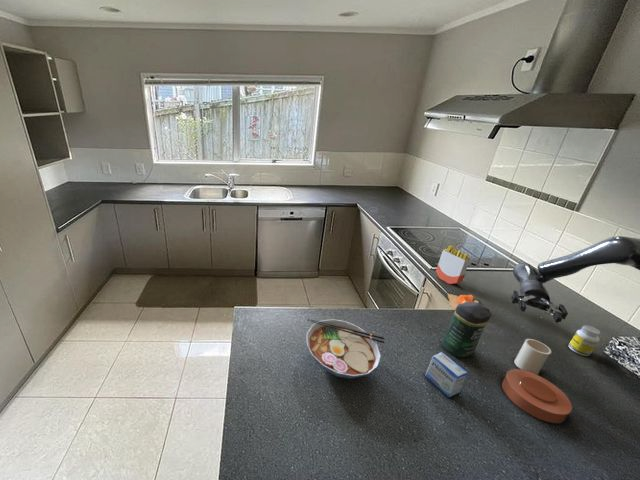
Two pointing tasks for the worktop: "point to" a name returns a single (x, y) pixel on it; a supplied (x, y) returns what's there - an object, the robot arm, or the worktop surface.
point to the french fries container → (452, 265)
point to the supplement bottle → (585, 340)
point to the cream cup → (532, 356)
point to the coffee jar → (466, 328)
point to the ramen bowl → (343, 348)
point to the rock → (459, 300)
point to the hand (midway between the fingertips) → (540, 314)
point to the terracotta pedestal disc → (536, 396)
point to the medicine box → (446, 374)
